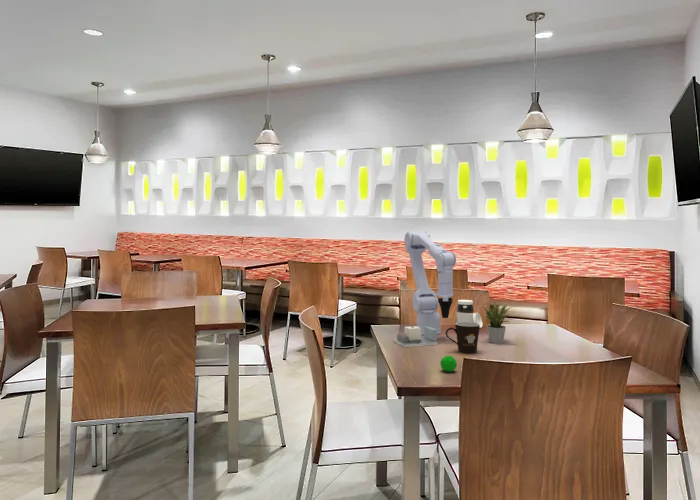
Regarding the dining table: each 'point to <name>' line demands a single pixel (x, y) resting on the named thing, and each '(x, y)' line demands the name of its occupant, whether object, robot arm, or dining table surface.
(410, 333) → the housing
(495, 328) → the house plant
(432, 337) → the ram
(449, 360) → the polyhedron
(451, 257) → the robot arm
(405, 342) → the press frame
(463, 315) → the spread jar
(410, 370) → the dining table surface
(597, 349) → the dining table surface
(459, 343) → the coffee mug
